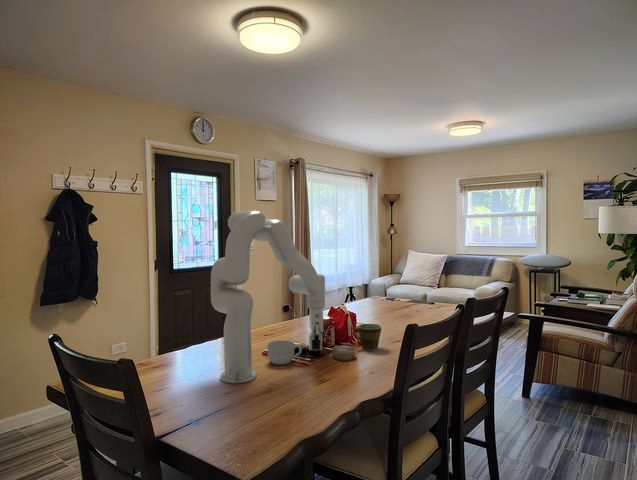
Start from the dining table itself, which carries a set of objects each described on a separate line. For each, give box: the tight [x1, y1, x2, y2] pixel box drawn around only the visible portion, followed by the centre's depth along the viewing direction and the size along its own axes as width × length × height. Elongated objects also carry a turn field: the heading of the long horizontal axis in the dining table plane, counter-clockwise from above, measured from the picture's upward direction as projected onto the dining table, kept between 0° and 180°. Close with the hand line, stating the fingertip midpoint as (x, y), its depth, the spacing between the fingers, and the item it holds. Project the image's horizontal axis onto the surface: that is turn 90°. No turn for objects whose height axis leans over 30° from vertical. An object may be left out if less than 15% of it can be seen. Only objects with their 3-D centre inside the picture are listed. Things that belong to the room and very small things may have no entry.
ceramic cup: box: [350, 323, 382, 353], centre depth 182 cm, size 13×10×10 cm
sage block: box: [308, 332, 323, 351], centre depth 176 cm, size 5×5×6 cm
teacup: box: [266, 339, 303, 366], centre depth 165 cm, size 14×11×8 cm
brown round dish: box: [331, 345, 356, 362], centre depth 171 cm, size 9×9×4 cm
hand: (315, 347), depth 176 cm, fingers closed on sage block, 5 cm apart
